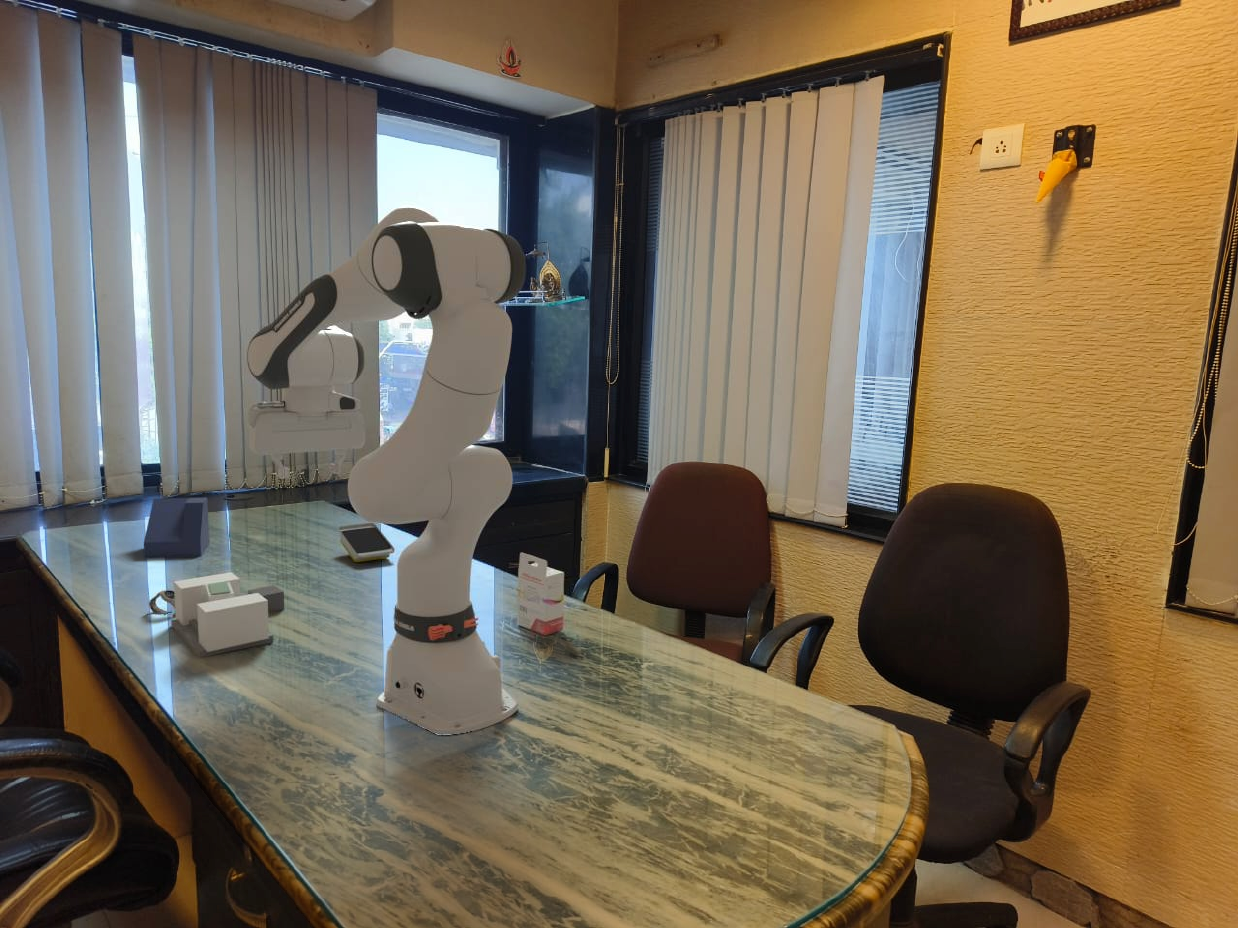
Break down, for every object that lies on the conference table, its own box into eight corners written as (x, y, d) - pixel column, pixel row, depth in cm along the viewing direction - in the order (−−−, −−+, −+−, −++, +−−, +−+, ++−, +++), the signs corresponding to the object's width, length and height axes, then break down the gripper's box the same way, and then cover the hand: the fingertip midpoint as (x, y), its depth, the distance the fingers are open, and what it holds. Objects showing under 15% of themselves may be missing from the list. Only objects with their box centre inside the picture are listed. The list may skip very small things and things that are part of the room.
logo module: (235, 630, 142) (233, 591, 140) (210, 634, 140) (208, 594, 138) (231, 617, 148) (229, 580, 146) (207, 621, 145) (205, 583, 144)
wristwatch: (173, 619, 150) (172, 594, 150) (145, 616, 152) (144, 591, 151) (187, 613, 154) (185, 588, 153) (159, 610, 155) (158, 585, 154)
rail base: (275, 644, 141) (273, 599, 139) (201, 661, 132) (199, 613, 131) (238, 612, 155) (236, 571, 154) (170, 626, 147) (167, 582, 146)
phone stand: (144, 558, 187) (141, 509, 185) (156, 545, 198) (153, 498, 196) (201, 556, 191) (198, 507, 189) (209, 543, 202) (207, 497, 200)
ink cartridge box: (564, 630, 153) (566, 556, 151) (545, 636, 150) (547, 561, 147) (535, 618, 159) (536, 547, 156) (515, 624, 155) (517, 551, 153)
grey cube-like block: (284, 610, 158) (283, 591, 157) (258, 616, 154) (258, 596, 154) (274, 604, 161) (273, 585, 160) (248, 609, 158) (248, 590, 157)
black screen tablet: (336, 541, 199) (357, 571, 189) (337, 526, 198) (358, 555, 187) (372, 537, 205) (394, 565, 195) (373, 522, 204) (396, 550, 193)
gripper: (254, 403, 134) (257, 483, 136) (368, 400, 148) (369, 473, 150) (242, 400, 138) (245, 477, 141) (354, 397, 152) (355, 468, 154)
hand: (310, 475), depth 145 cm, fingers open, 8 cm apart
